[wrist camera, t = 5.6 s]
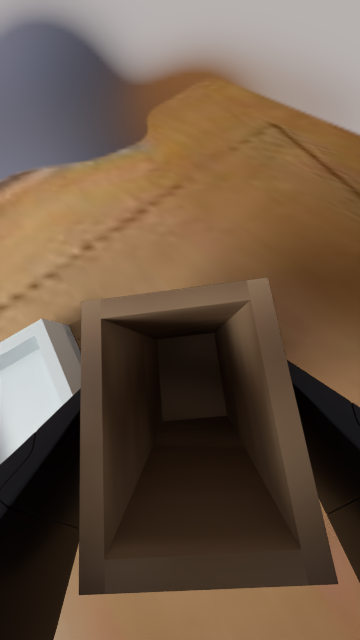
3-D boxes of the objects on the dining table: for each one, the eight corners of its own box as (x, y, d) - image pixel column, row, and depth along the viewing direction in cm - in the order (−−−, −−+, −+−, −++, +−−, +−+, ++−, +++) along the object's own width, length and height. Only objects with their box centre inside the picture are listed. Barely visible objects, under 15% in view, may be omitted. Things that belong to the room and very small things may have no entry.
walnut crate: (234, 420, 14) (338, 584, 4) (157, 427, 14) (78, 595, 4) (219, 325, 15) (267, 277, 6) (150, 333, 16) (81, 301, 6)
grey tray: (132, 469, 14) (116, 501, 11) (-1, 552, 13) (-55, 609, 10) (68, 324, 16) (41, 318, 14) (-43, 389, 16) (-96, 397, 13)
